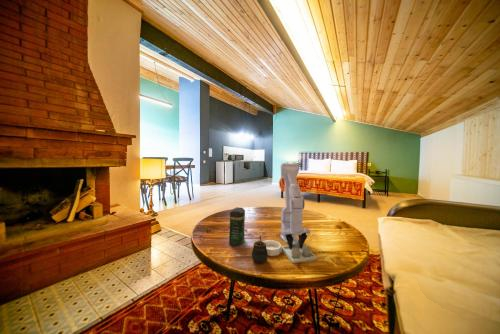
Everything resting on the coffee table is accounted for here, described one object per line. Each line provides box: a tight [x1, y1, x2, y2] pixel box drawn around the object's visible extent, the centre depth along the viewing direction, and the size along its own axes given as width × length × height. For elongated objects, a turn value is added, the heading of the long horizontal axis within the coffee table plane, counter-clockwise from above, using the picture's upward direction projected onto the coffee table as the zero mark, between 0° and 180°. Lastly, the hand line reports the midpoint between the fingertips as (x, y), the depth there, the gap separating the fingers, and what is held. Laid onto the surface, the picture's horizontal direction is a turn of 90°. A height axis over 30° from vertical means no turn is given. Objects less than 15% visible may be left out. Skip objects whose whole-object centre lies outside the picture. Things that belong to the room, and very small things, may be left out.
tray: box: [282, 244, 318, 264], centre depth 90 cm, size 13×12×2 cm
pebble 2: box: [302, 245, 312, 258], centre depth 88 cm, size 4×4×4 cm
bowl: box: [263, 239, 283, 257], centre depth 94 cm, size 10×10×3 cm
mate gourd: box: [251, 235, 269, 264], centre depth 84 cm, size 7×8×10 cm
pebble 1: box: [292, 247, 300, 259], centre depth 86 cm, size 4×4×4 cm
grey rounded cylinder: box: [292, 241, 299, 248], centre depth 92 cm, size 4×4×4 cm
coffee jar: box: [228, 207, 246, 246], centre depth 102 cm, size 10×8×19 cm
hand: (295, 248), depth 93 cm, fingers open, 5 cm apart
